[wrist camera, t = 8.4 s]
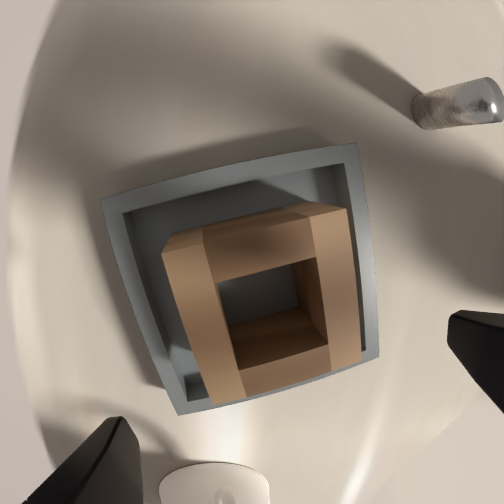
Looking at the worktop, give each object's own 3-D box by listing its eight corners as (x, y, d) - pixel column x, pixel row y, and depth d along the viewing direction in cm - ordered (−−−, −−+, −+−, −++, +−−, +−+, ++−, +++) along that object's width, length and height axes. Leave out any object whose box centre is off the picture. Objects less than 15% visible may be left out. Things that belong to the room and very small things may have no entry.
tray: (337, 146, 15) (356, 142, 13) (362, 340, 17) (378, 356, 16) (112, 197, 13) (99, 199, 12) (178, 393, 16) (178, 415, 14)
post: (433, 95, 15) (499, 79, 10) (441, 129, 15) (509, 122, 10) (408, 94, 15) (475, 74, 9) (416, 131, 15) (486, 122, 10)
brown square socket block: (327, 322, 16) (361, 360, 12) (208, 355, 15) (213, 405, 11) (308, 200, 14) (346, 208, 11) (171, 233, 14) (161, 253, 10)
